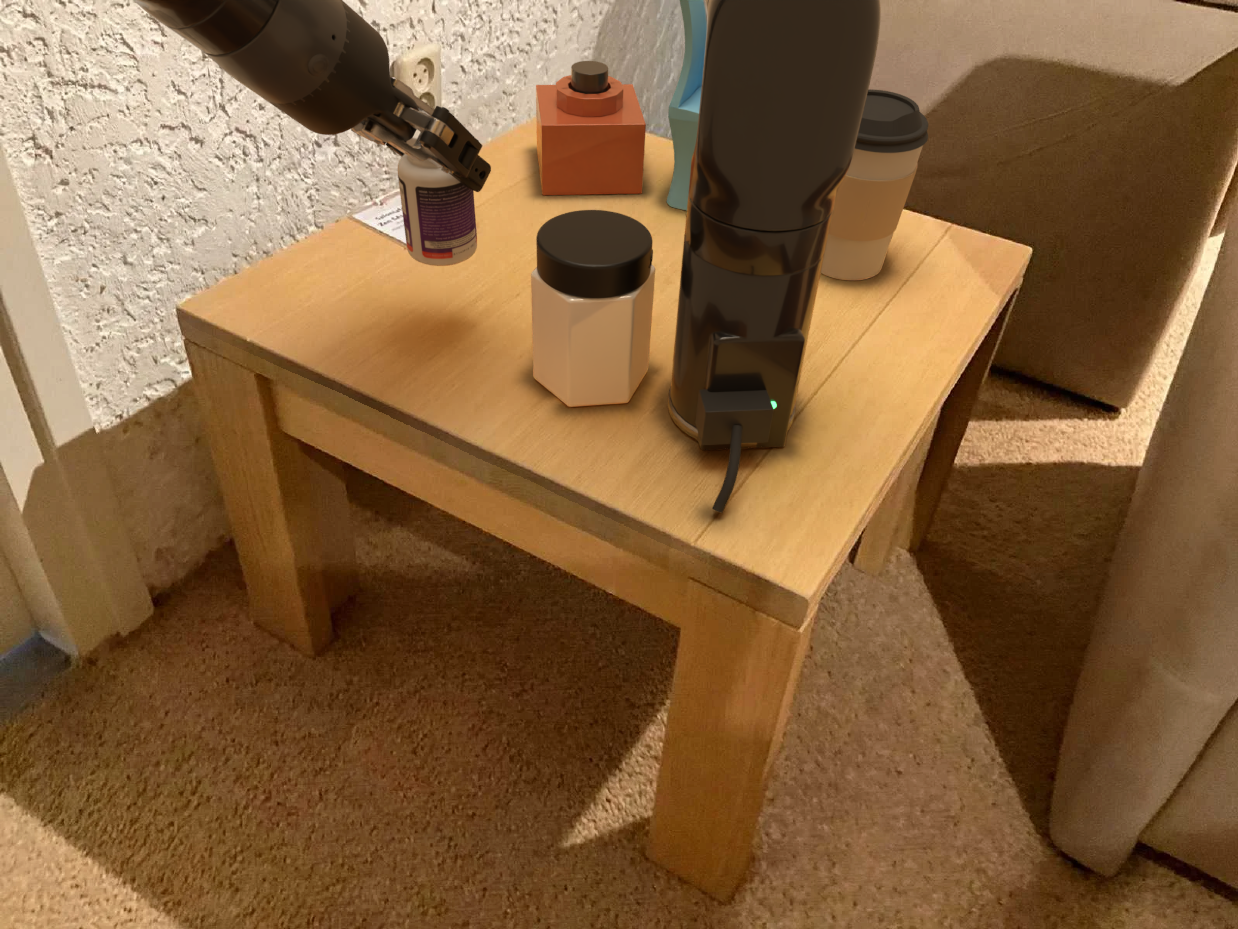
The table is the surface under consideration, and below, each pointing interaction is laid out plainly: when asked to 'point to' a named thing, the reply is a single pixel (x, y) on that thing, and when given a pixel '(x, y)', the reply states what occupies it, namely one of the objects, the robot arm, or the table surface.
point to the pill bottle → (436, 213)
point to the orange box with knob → (589, 139)
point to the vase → (687, 101)
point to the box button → (589, 77)
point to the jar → (592, 306)
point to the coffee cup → (874, 186)
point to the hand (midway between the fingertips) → (452, 166)
